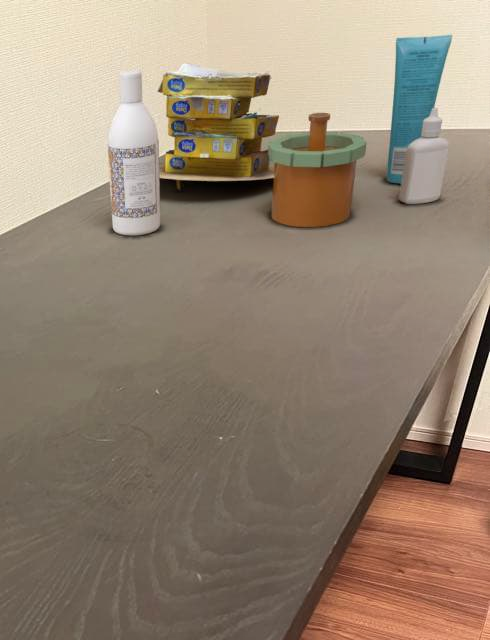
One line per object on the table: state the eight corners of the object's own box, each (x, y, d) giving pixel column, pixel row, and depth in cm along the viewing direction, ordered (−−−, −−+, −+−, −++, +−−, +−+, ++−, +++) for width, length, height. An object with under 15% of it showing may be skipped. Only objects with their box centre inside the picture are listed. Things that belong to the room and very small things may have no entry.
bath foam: (120, 221, 118) (112, 68, 106) (165, 221, 116) (162, 66, 104) (107, 236, 113) (97, 77, 101) (153, 237, 111) (149, 75, 99)
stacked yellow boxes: (181, 159, 144) (181, 53, 134) (309, 170, 132) (319, 54, 122) (104, 196, 130) (97, 80, 119) (240, 212, 117) (245, 84, 107)
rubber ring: (354, 141, 113) (356, 128, 112) (371, 164, 103) (373, 151, 102) (265, 146, 114) (265, 134, 113) (273, 170, 104) (273, 157, 103)
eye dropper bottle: (440, 205, 112) (458, 111, 105) (398, 204, 114) (413, 112, 107) (439, 196, 116) (456, 104, 108) (398, 196, 117) (412, 105, 110)
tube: (422, 174, 125) (447, 31, 113) (430, 183, 121) (457, 36, 109) (374, 177, 126) (393, 36, 114) (380, 186, 122) (401, 40, 110)
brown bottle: (342, 201, 117) (354, 103, 109) (356, 224, 109) (370, 120, 101) (267, 206, 119) (273, 109, 110) (275, 229, 110) (282, 126, 102)
